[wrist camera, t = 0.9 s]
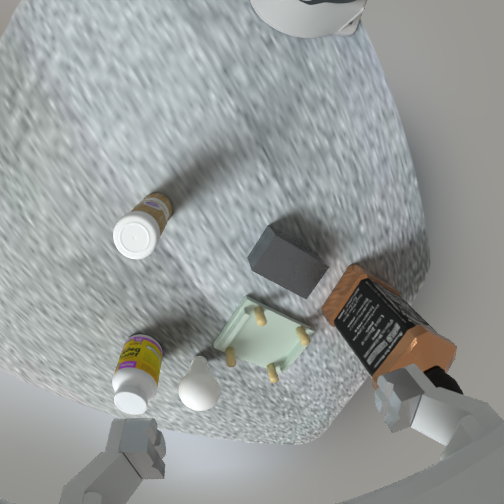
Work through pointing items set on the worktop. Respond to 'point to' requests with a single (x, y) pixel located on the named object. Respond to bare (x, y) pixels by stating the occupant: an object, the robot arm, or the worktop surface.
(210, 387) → the lightbulb
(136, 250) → the sprinkles bottle
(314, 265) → the block
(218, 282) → the worktop surface
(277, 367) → the tray
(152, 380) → the supplement bottle
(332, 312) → the whiskey bottle
